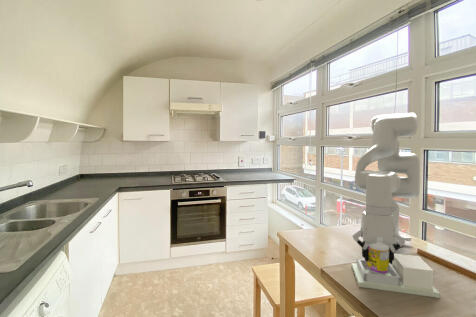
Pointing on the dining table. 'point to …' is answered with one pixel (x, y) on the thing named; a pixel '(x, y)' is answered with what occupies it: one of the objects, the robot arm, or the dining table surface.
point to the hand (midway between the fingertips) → (377, 260)
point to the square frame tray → (399, 276)
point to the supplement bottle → (378, 257)
